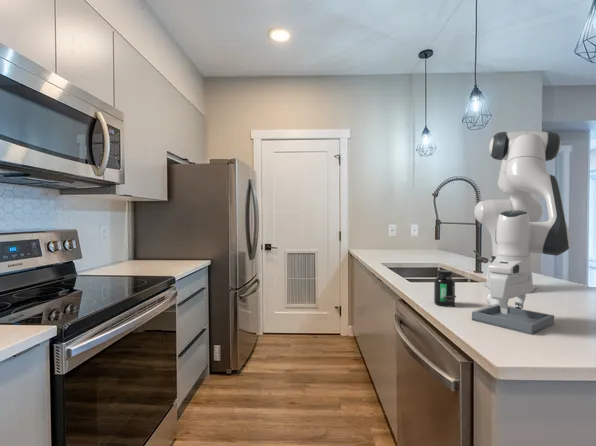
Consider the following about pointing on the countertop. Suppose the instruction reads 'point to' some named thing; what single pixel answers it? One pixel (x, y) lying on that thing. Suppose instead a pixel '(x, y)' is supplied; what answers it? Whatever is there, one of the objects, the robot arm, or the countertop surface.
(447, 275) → the supplement bottle
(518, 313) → the tray
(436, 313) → the countertop surface
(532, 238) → the robot arm
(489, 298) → the small white bowl
